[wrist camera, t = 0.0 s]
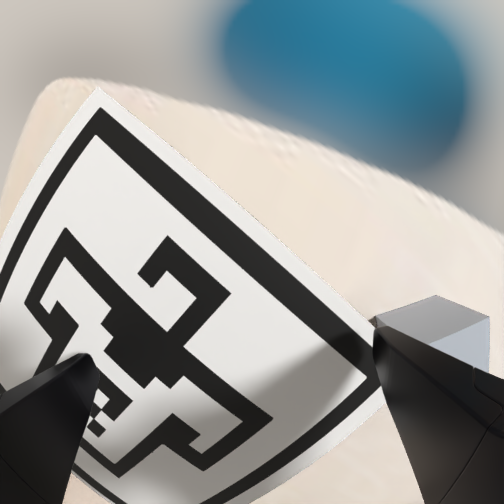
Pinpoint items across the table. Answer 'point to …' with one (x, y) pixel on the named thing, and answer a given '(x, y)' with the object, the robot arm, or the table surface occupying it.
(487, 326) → the slate block
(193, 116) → the table surface
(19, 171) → the table surface
